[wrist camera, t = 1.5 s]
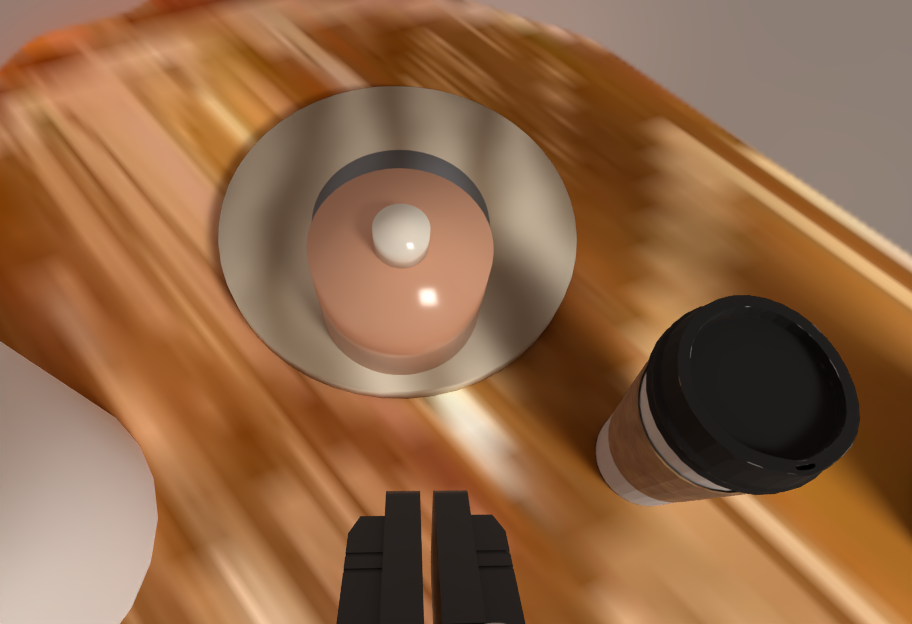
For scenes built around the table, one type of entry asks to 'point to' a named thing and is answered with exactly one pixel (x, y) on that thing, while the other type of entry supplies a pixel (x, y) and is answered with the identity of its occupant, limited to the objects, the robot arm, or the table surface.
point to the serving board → (386, 147)
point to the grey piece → (68, 504)
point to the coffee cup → (730, 408)
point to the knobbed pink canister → (400, 268)
